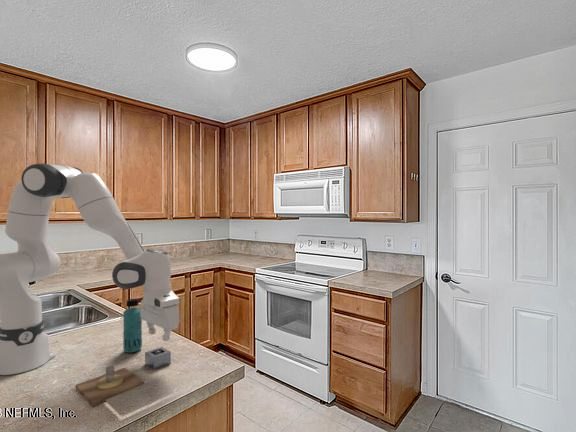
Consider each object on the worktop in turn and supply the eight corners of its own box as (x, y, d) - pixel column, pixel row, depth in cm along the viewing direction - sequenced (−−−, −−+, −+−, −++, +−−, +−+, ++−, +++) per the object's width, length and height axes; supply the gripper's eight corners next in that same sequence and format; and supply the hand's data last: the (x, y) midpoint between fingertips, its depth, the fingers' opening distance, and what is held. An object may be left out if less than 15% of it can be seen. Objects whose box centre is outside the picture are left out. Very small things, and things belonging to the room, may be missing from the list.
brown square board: (75, 388, 96) (75, 368, 96) (124, 371, 107) (124, 353, 107) (93, 407, 87) (92, 385, 87) (144, 385, 98) (144, 366, 98)
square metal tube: (145, 364, 110) (145, 352, 110) (161, 357, 115) (161, 346, 115) (153, 369, 106) (153, 357, 106) (170, 363, 111) (170, 351, 111)
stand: (140, 366, 110) (140, 351, 110) (163, 358, 116) (163, 344, 116) (152, 374, 105) (152, 358, 105) (175, 365, 111) (174, 350, 111)
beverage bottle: (121, 357, 117) (120, 302, 116) (125, 350, 123) (124, 297, 123) (140, 355, 118) (140, 301, 118) (143, 348, 125) (143, 296, 125)
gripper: (134, 293, 114) (135, 332, 115) (164, 303, 101) (165, 347, 101) (152, 290, 119) (153, 327, 119) (182, 299, 106) (183, 341, 106)
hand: (159, 337), depth 110 cm, fingers open, 8 cm apart
